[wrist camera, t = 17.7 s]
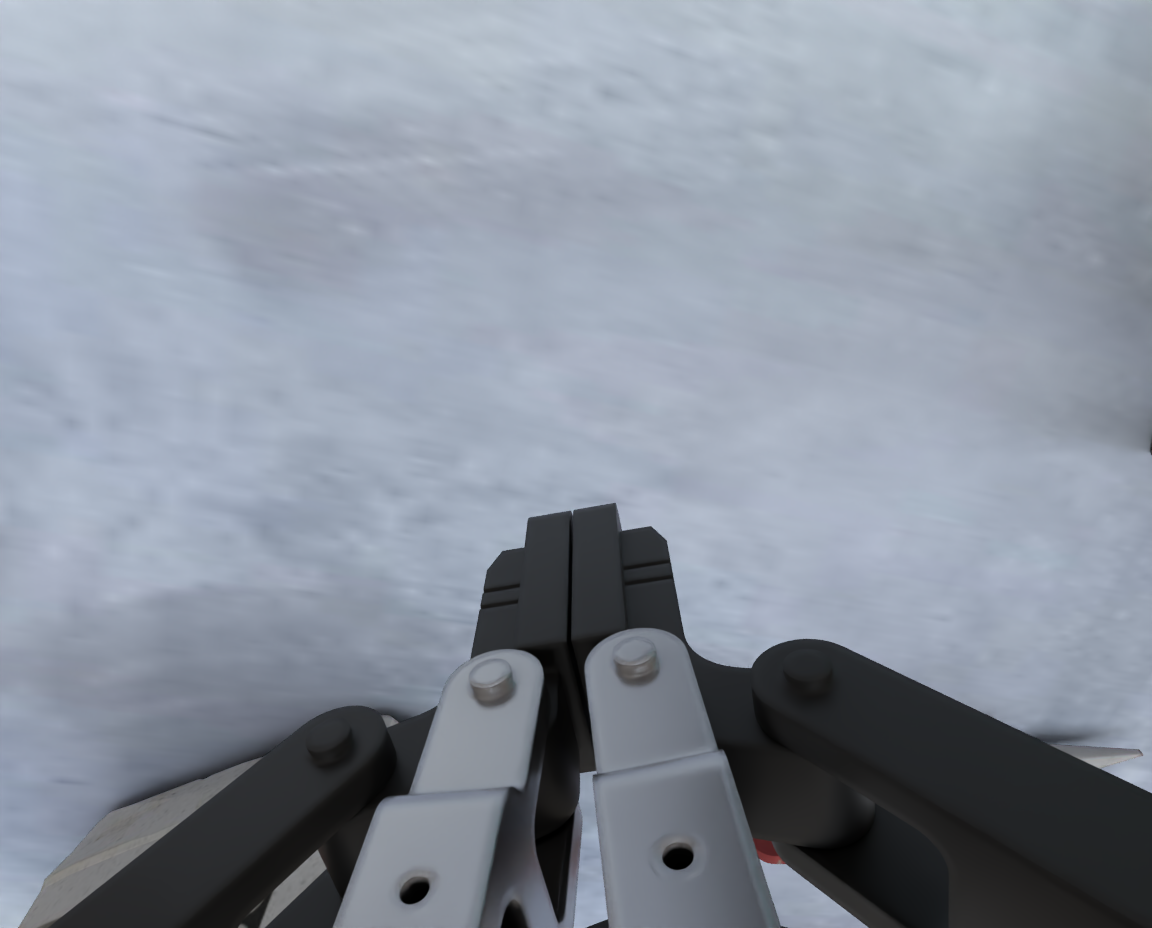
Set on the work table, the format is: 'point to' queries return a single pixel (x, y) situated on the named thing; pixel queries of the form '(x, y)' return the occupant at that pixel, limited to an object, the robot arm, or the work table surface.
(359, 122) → the work table surface
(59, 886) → the jerry can
